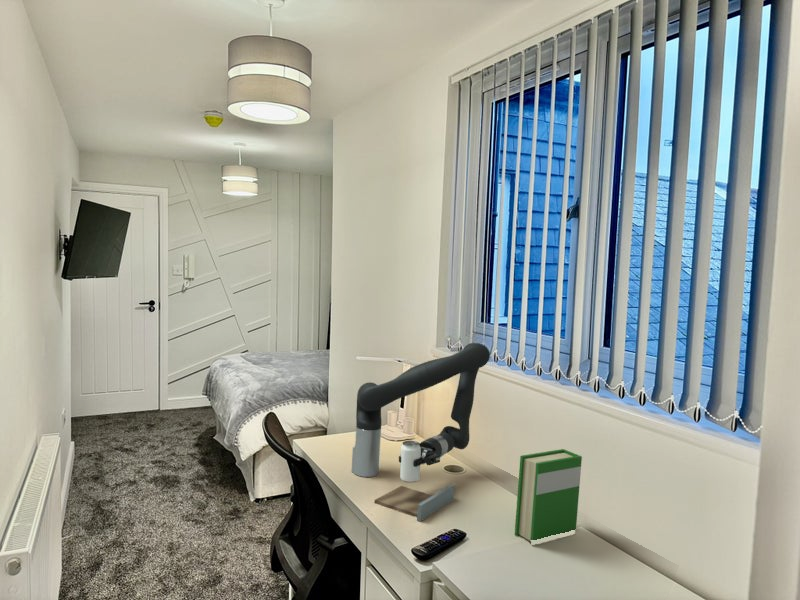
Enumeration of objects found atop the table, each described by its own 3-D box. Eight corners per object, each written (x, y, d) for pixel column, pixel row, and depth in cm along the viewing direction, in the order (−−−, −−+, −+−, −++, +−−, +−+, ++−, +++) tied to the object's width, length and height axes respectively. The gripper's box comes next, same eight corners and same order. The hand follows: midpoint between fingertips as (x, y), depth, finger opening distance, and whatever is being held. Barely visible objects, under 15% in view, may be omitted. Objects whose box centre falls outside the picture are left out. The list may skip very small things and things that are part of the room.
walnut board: (374, 502, 189) (374, 499, 189) (401, 488, 203) (401, 485, 203) (416, 517, 181) (416, 513, 181) (441, 501, 194) (441, 498, 194)
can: (418, 483, 188) (419, 447, 187) (398, 481, 189) (399, 445, 188) (421, 476, 194) (422, 441, 193) (402, 474, 195) (403, 439, 194)
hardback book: (532, 546, 166) (538, 463, 165) (514, 535, 173) (520, 455, 171) (575, 534, 175) (581, 456, 174) (557, 524, 182) (563, 448, 180)
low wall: (416, 520, 178) (417, 504, 178) (450, 498, 197) (451, 484, 197) (420, 521, 178) (421, 505, 177) (453, 499, 196) (454, 484, 196)
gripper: (416, 433, 207) (389, 445, 192) (451, 442, 199) (426, 455, 185) (415, 454, 207) (388, 467, 193) (450, 463, 199) (425, 478, 185)
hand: (407, 461), depth 189 cm, fingers closed on can, 5 cm apart
